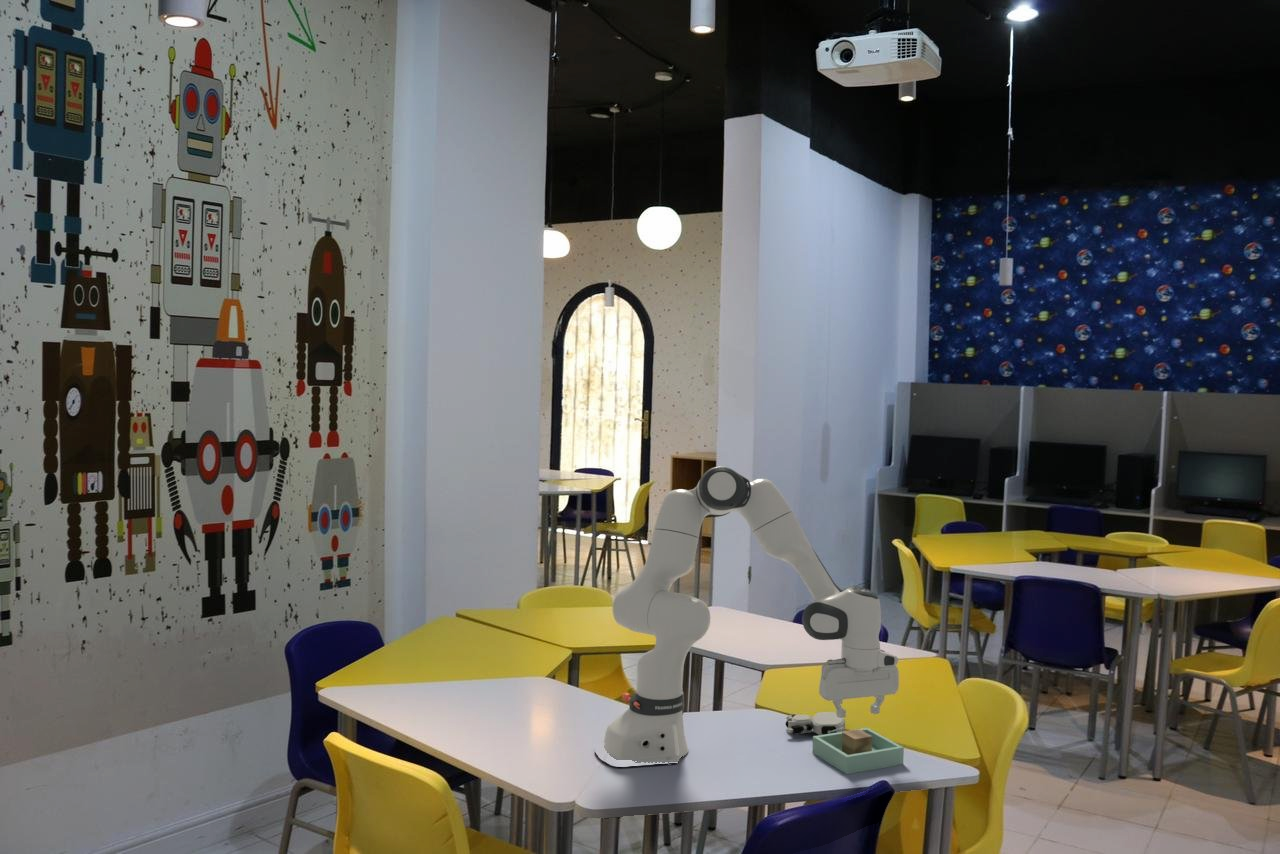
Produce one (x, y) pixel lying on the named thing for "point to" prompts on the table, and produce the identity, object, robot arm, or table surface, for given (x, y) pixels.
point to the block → (856, 742)
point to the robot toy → (815, 723)
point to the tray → (879, 757)
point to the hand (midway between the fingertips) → (858, 715)
